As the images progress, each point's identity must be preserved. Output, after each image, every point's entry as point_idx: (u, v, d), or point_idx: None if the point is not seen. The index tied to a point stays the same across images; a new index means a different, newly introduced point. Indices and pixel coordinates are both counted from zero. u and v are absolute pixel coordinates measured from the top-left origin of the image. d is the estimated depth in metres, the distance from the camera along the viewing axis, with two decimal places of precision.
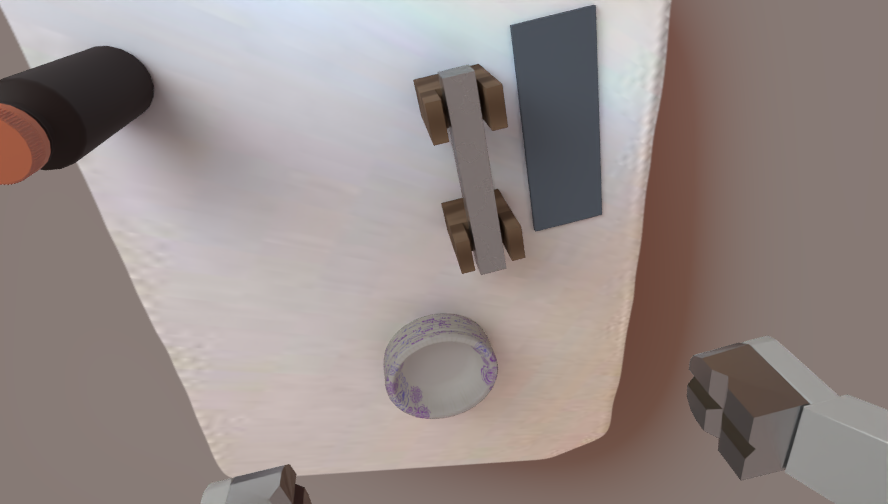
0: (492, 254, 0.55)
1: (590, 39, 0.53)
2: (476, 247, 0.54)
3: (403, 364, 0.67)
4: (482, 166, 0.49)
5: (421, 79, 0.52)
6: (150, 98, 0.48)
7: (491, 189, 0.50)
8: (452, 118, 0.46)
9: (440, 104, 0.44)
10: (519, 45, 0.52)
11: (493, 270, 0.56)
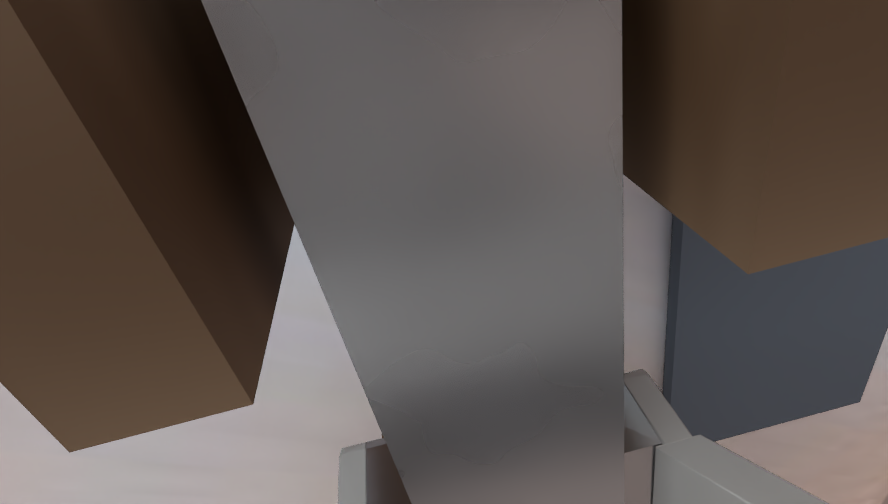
0: None
1: None
2: None
3: None
4: (571, 471, 0.07)
5: None
6: None
7: None
8: (282, 129, 0.04)
9: None
10: None
11: None
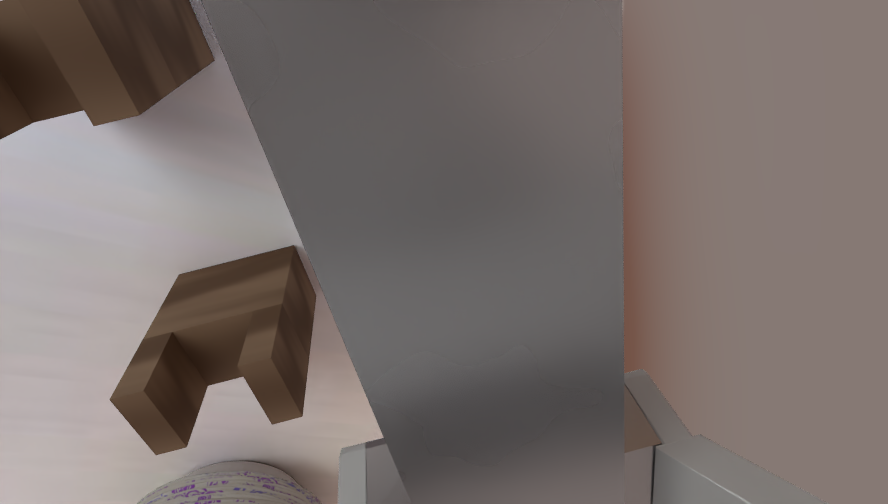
0: None
1: None
2: None
3: None
4: (572, 472, 0.07)
5: None
6: None
7: None
8: (283, 133, 0.04)
9: None
10: None
11: None
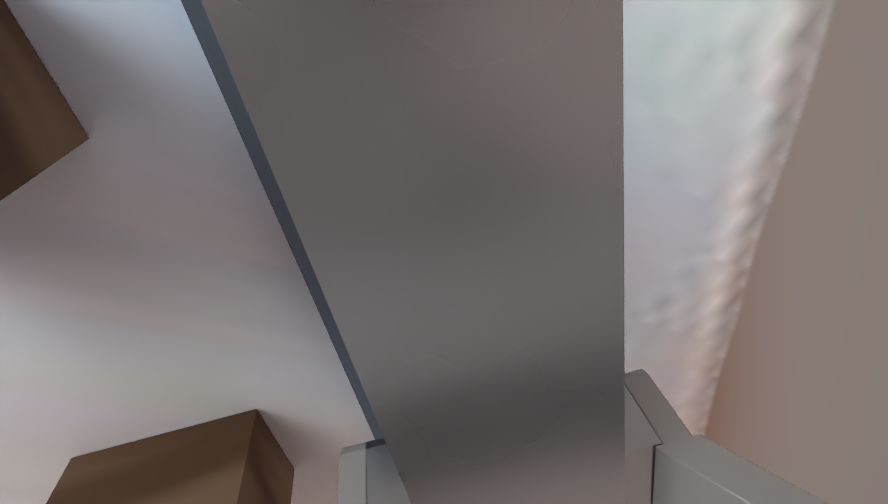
0: None
1: None
2: None
3: None
4: (572, 474, 0.07)
5: None
6: None
7: None
8: (285, 134, 0.04)
9: None
10: None
11: None
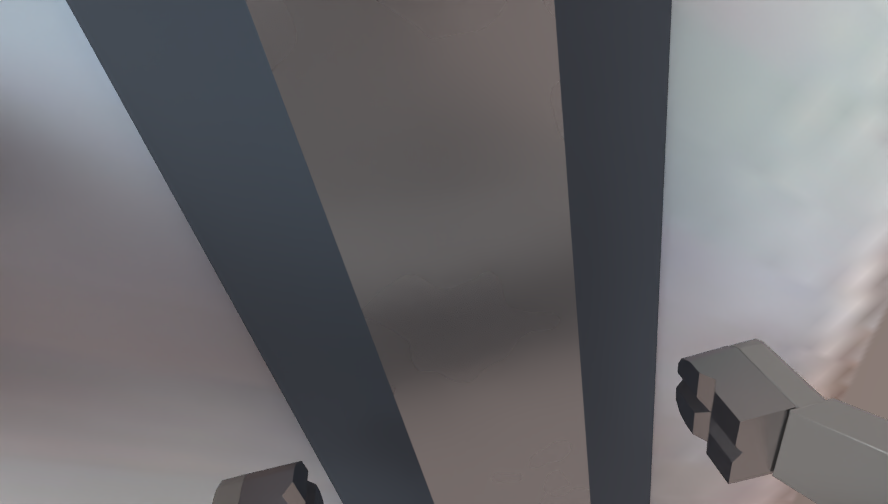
0: None
1: None
2: None
3: None
4: (537, 392, 0.08)
5: None
6: None
7: (577, 479, 0.10)
8: (298, 89, 0.05)
9: None
10: None
11: None
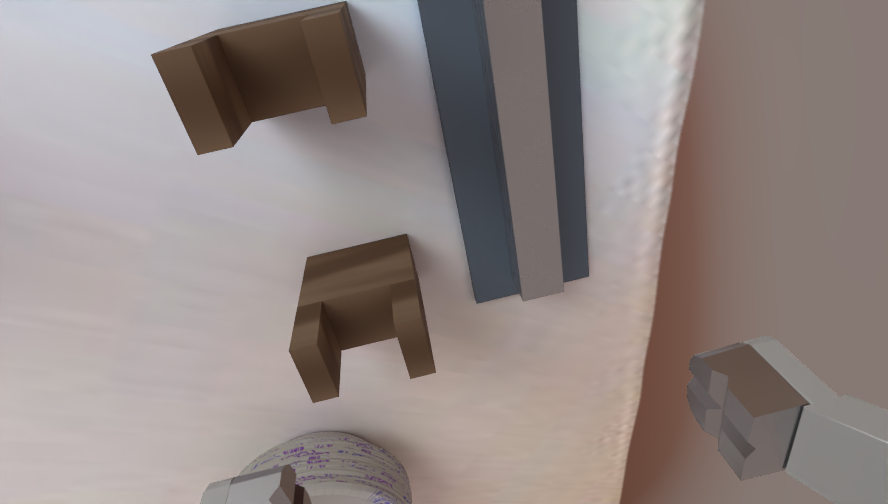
0: (543, 269, 0.34)
1: None
2: (518, 256, 0.33)
3: None
4: (537, 116, 0.28)
5: (229, 27, 0.26)
6: None
7: (549, 158, 0.30)
8: (489, 21, 0.26)
9: (192, 58, 0.19)
10: None
11: (543, 294, 0.35)
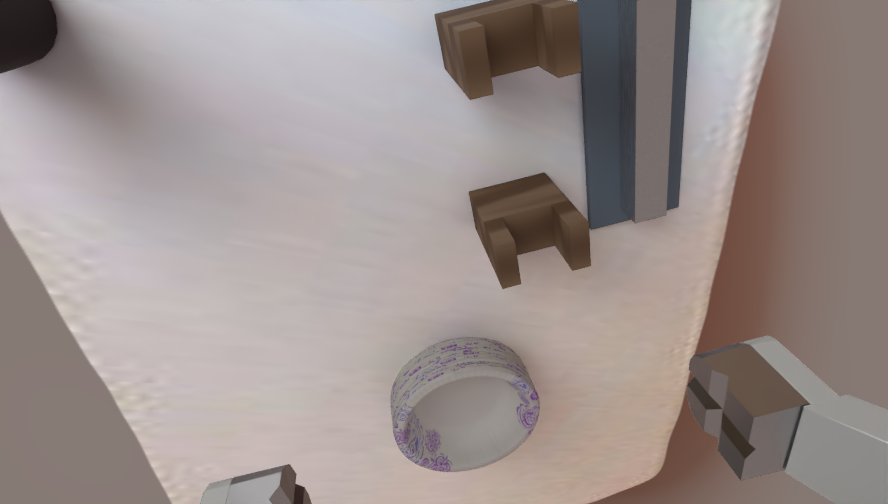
0: (653, 196, 0.44)
1: None
2: (636, 186, 0.43)
3: (416, 403, 0.51)
4: (663, 75, 0.38)
5: (446, 12, 0.36)
6: (50, 34, 0.33)
7: (668, 108, 0.40)
8: (639, 5, 0.35)
9: (482, 33, 0.29)
10: None
11: (650, 217, 0.45)
